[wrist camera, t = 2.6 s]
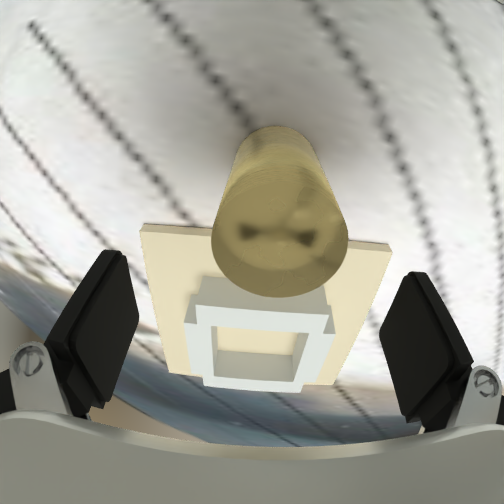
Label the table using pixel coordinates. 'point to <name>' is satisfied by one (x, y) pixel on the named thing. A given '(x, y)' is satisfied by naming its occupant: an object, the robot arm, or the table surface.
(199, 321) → the sleeve block
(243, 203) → the cylinder
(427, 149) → the table surface
